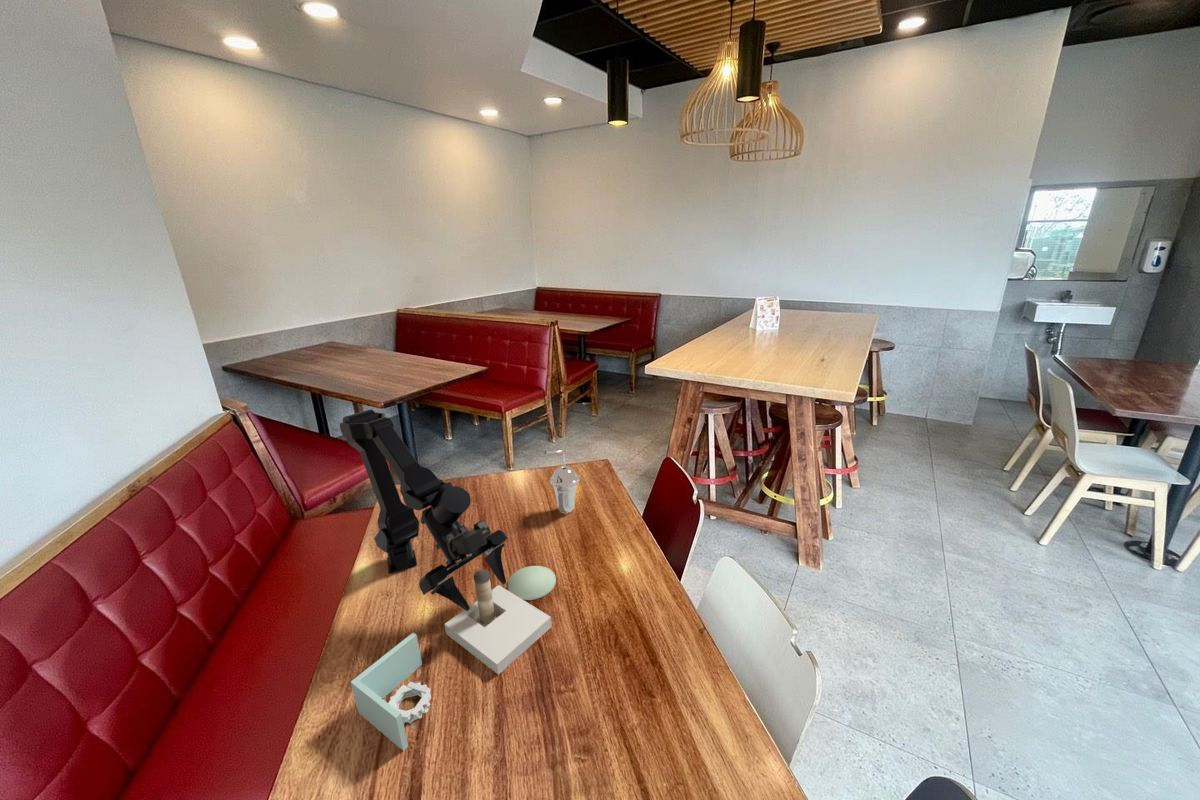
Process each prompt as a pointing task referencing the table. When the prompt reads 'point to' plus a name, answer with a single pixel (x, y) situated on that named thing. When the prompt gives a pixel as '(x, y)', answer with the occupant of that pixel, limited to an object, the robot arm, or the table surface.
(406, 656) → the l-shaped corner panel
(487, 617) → the key peg
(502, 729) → the table surface
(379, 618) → the table surface
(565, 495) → the cup with straw
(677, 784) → the table surface
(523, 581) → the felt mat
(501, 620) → the socket plate
